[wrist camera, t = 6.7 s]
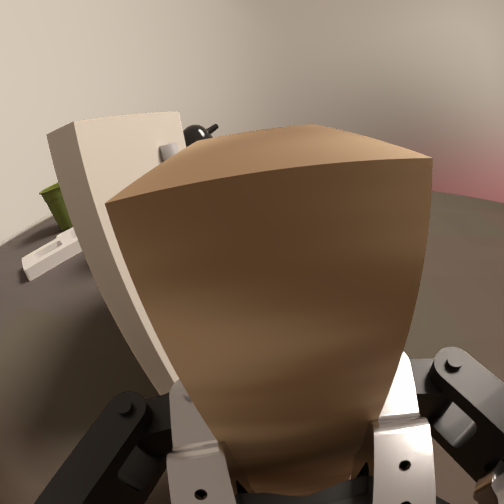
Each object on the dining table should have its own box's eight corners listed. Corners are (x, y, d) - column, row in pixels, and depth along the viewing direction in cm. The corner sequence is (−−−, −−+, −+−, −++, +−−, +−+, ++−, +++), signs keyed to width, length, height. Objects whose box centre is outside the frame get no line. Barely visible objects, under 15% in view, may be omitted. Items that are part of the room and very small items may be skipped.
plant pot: (45, 237, 57) (31, 196, 52) (73, 217, 67) (62, 180, 62) (72, 233, 54) (56, 186, 49) (101, 212, 64) (89, 171, 59)
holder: (30, 284, 37) (23, 270, 35) (24, 259, 48) (19, 249, 47) (216, 188, 65) (214, 177, 63) (173, 185, 76) (171, 176, 75)
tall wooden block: (267, 507, 10) (104, 202, 3) (263, 416, 15) (197, 140, 8) (337, 497, 9) (432, 158, 2) (321, 408, 15) (313, 123, 8)
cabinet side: (168, 406, 16) (46, 134, 8) (200, 267, 32) (164, 115, 24) (378, 382, 15) (403, 68, 7) (321, 250, 31) (307, 91, 23)
